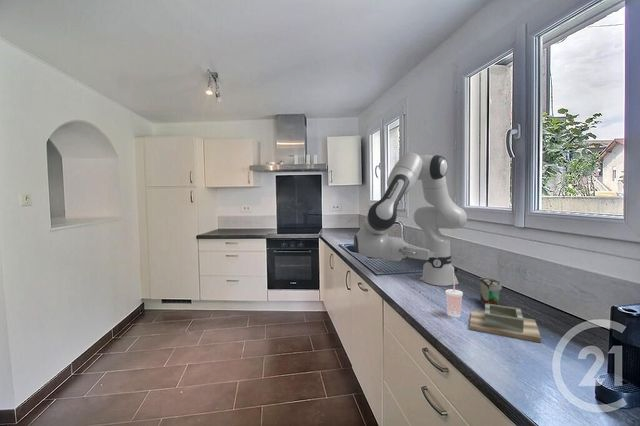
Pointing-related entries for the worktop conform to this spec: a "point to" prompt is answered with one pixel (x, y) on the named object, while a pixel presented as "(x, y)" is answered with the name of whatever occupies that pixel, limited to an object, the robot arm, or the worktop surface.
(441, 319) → the worktop surface
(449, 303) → the beverage cup
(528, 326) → the collar stand
